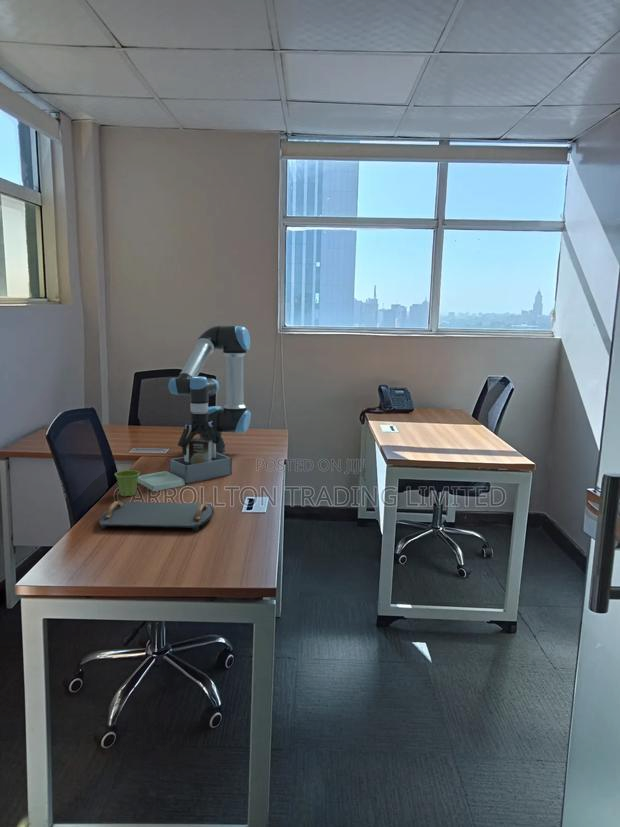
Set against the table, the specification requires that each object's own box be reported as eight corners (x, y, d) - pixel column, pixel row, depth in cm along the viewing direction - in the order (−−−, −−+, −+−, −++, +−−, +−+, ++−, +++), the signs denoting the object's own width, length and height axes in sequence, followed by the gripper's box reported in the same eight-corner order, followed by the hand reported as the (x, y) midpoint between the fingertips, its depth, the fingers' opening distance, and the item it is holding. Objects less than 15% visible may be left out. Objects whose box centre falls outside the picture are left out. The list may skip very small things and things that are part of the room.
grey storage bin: (214, 467, 267) (214, 451, 265) (232, 474, 255) (231, 457, 254) (169, 475, 252) (169, 459, 251) (185, 483, 241) (185, 466, 239)
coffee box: (188, 476, 251) (187, 441, 248) (193, 472, 257) (192, 438, 254) (209, 477, 250) (208, 441, 247) (212, 473, 256) (212, 438, 253)
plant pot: (127, 489, 233) (126, 468, 231) (145, 492, 228) (144, 471, 227) (110, 495, 224) (109, 474, 223) (128, 499, 220) (127, 477, 219)
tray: (166, 476, 251) (166, 470, 251) (184, 485, 238) (184, 479, 238) (136, 482, 242) (135, 476, 242) (153, 491, 229) (153, 486, 229)
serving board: (219, 510, 210) (218, 494, 209) (205, 535, 187) (205, 517, 186) (115, 508, 211) (114, 492, 210) (89, 532, 188) (88, 514, 187)
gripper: (219, 408, 259) (220, 453, 263) (169, 413, 243) (170, 462, 247) (228, 410, 254) (228, 456, 257) (177, 416, 238) (178, 465, 241)
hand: (200, 459), depth 252 cm, fingers open, 13 cm apart
